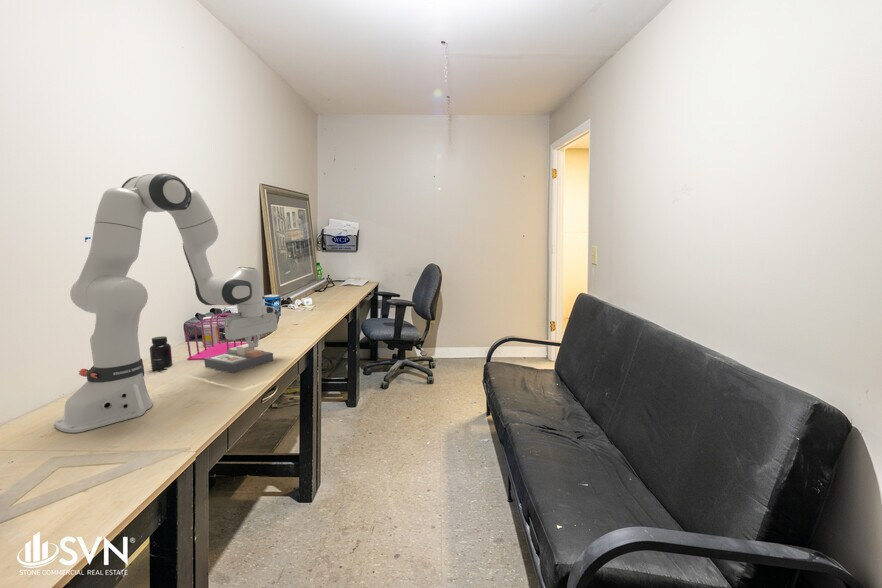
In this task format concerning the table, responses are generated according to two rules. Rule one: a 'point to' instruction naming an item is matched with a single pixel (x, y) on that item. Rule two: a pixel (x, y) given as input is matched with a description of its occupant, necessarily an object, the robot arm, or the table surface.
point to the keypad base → (236, 362)
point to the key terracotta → (254, 353)
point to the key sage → (233, 350)
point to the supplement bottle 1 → (160, 354)
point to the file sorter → (214, 349)
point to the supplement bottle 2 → (208, 333)
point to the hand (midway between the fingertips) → (253, 347)
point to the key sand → (243, 349)
